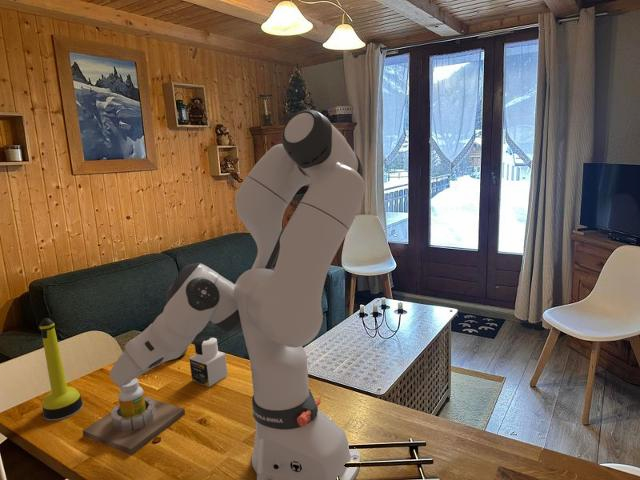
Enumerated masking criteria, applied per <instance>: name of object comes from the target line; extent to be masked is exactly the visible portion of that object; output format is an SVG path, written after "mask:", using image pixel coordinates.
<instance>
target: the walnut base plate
mask: <svg viewBox="0 0 640 480" xmlns="http://www.w3.org/2000/svg"><path fill="white" fill-rule="evenodd" d="M153 401H154V403H155V408H156V417H155V419H154V421H153V422H151V423H150V424H149V425H147V426H146V427H144V428H141V429H138V430H136V431H131V432H120V431H117V430H115V429H114V426H113V422H112V416H111V412H110V413H107V414H106V415H105V416H103V417H102V418H100V419H98V420H97V421H95V422H94V423H92V424H90V425H89V426H87V427H86V428H84V429H82V434H83V435H82V436H83V437H84V438H87V439H89V440H91V441H95V442H97V443H100V444H103V445H105V446H107V447H111V448H113V449H115V450H118V451H120V452H123V453H125V454H128V455H130V456H132V455H134V454H135V453H137V452H138V451H139V450H140V449H142V448H143V447H145V445H147V444H149V442H151V441H152V440H153V439H155V438H156V437H157V436H159V435H160V434H161V433H163V432H164V431H166V429H168V428H170V427H171V426H172V425H174V424H175V423H176V422H177V421H178V420H180V419H181V418H182V417H184V416H185V415H186V411H185V408H183V407H180V406H177V405H173V404H169V403H166V402H163V401H161V400H160V401H159V400H155V399H153Z"/></svg>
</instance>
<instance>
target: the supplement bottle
mask: <svg viewBox="0 0 640 480" xmlns="http://www.w3.org/2000/svg"><path fill="white" fill-rule="evenodd" d="M119 389H120V392H119V393H118V402H119V403H118V404H120V409H121V415H122V417H132V416H135V415H138V414H141V413H142V412H144V411H145V410H146V407H145V400H144V397H145V395H144V394H145V392H144V389H143V388H142V387H141V386H140V384H139V379H137V378H135V379H133V380H132V381H131V383H129V384H127V385H126V386H122V387H119Z"/></svg>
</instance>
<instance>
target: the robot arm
mask: <svg viewBox="0 0 640 480" xmlns="http://www.w3.org/2000/svg"><path fill="white" fill-rule="evenodd" d="M280 139H281V143H278V144H275V145H273V146H272V147H270V149H269V150H267V151H266V152H265V154H263V156H262V157H260V159H259V160H258V161H257V162H256V163H255V164H254V165H253V167H252V168H251V169H250V171H249V172H248V174H247V175H246V177H245V178H244V180H243V181H242V183H241V184H240V186H239V188H238V190H237V192H236V194H235V197H234V206H235V210H236V212H237V215H238V217H239V219H240V221H241V222H242V224H243V226H245V228H246V230H247V231H248V232H249V234H250V235H251V237H252V238H253V240H254V241H255V244H256V246H257V247H256V248H257V254H256V258H255V260H254V263H253V264H252V265H251V268H250V269H248V270H246V271H244V272H243V273H242V274H241V275H239V276H238V277H237V280H236V281H235V283H233V282H232V281H231V280H229V279H227V278H225V277H224V276H222V275H221V274H219V272H217V271H215V270H214V269H212V268H210V267H209V266H207V265H205V264H203V263H201V262H195V263H190V264H187V265H185V266H184V267H183V268H182V269H181V270H180V271H179V273H178V275H177V277H175V280H174V281H173V282H172V283H171V284H170V286H169V287H168V289H167V291H166V301H167V303H166V304H165V305H164V308H163V311H162V312H161V313H160V314H159V315H158V316H156V318H155V319H154V321H153V322H152V323H150V325H148V327H146V328H145V329H144V330H143V331H142V332H140V333H139V334H137V335H136V336H135V337H133V338H132V339H130V340H129V341H128V342H127V343H126V344H125V345H124V348H125V350H124V351H123V352H122V354H121V353H120V355H119V356H118V358H117V359H116V361H115V362H114V364H113V366H112V367H111V369H110V371H109V377H110V379H112V381H113V383H115V385H116V386H118V387H119V388H120V387H122V386H126V385H127V384H129V383H131V381H132V380H133V379H135V378H136V379H137V378H138V377H140V376H142V375H143V374H145V373H146V372H148V371H150V370H152V369H154V368H155V367H157V366H160V365H162V364H164V363H165V362H168V361H171V360H176V358H177V359H179V358H181V357H182V356H181V355H182V354H183V352H184V351H185V350H186V349H187V350H188V348H189V346H190V345H192V343H193V342H194V340H195V339H196V337H197V335H198V334H200V333H201V332H202V331H203V329H204V328H205V327H206V326H207V325H208V323H210V322H211V323H212V324H213V325H214V326H215V327H217V328H218V329H219V330H221V331H222V332H224V333H225V334H230V333H231V334H232V333H236V332H241V331H242V334H243V338H244V341H245V345H246V350H247V354H248V358H249V363H250V370H251V371H250V372H251V380H252V381H251V382H252V391H253V394H252V398H251V402H252V403H251V404H252V405H251V406H252V416H253V418H254V420H255V422H254V423H255V427H254V428H255V429H254V430H255V435H254V444H253V445H254V446H253V451H252V456H251V466H252V468H253V470H254V472H255V473H256V480H336V479H337V477H338V476H339V479H340V480H355V478H356V476H357V474H358V473H359V470H360V468H359V467H349V468H347V467H345V466H344V465H345V463H347V462H360V461H361V459H362V458H360V457H361V453H360V450H359V449H357V448H356V449H349V445H350V444H349V441H348V437H347V435H346V432H345V431H344V429H343V428H341V427H340V426H339V425H338V424H336V422H334V420H333V419H332V418H331V417H328V416H327V415H326V414H325V413H323V412H322V410H320V409H319V408H318V407H319V406H320V404H321V403H322V400H321V399H322V397H321V396H319V397H318V398H317V399H316V400H315V398H314V395H313V393H312V391H311V390H310V387H309V374H308V373H309V372H308V371H309V370H308V358H307V354H306V351H305V349H304V347H303V346H306V345H308V344H309V343H310V342H311V341H313V340H314V339H315V337H316V336H318V334H319V332H320V330H321V328H322V325H323V320H324V319H323V318H324V315H323V309H322V298H323V297H322V296H323V291H324V286H325V282H326V278H327V276H328V275H327V274H328V272H329V268H330V266H331V264H332V262H333V259H334V258H335V256H336V254H337V253H338V250H339V249H340V247H341V245H342V244H343V241H344V239H345V238H346V236H347V234H348V232H349V230H350V228H351V227H352V225H353V223H354V221H355V219H356V216H357V214H358V213H359V212H358V211H359V209H360V207H361V204H362V201H363V197H364V195H365V191H366V184H365V180H364V179H363V175H364V174H363V173H364V171H363V170H364V169H363V165H362V162H361V160H360V158H359V155H358V154H356V153H355V152H354V150H353V148H352V147H351V146H350V144H349V143H348V142H347V139H346V137H344V135H343V134H342V133H341V131H339V130H338V128H336V126H334V125H333V124H332V123H331V121H330V119H328V118H327V117H326V115H323V114H322V113H320V112H319V111H316V110H314V109H303V110H301V111H299V112H297V113H295V114H293V115H292V116H291V117H290V118H289V119H288V120H287V122H286V123H285V125H284V127H282V131H281V137H280ZM306 185H309V186H308V189H307V190H306V191H305V193H304V195H303V197H302V198H301V200H300V201H299V203H298V205H297V207H296V209H295V211H294V212H293V214H292V215H291V217H290V219H289V220H288V222H287V224H286V226H285V228H283V217H284V215H285V212H286V209H287V207H288V206H289V205H290V203H291V202H292V201H293V198H294V197H295V195H296V194H297V192H298V191H299V190H300V189H301V188H302V187H305V186H306ZM275 262H276V263H275ZM274 265H275V266H274ZM273 268H274V269H273ZM180 356H181V357H180ZM178 357H179V358H178ZM354 459H357V460H354Z"/></svg>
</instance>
